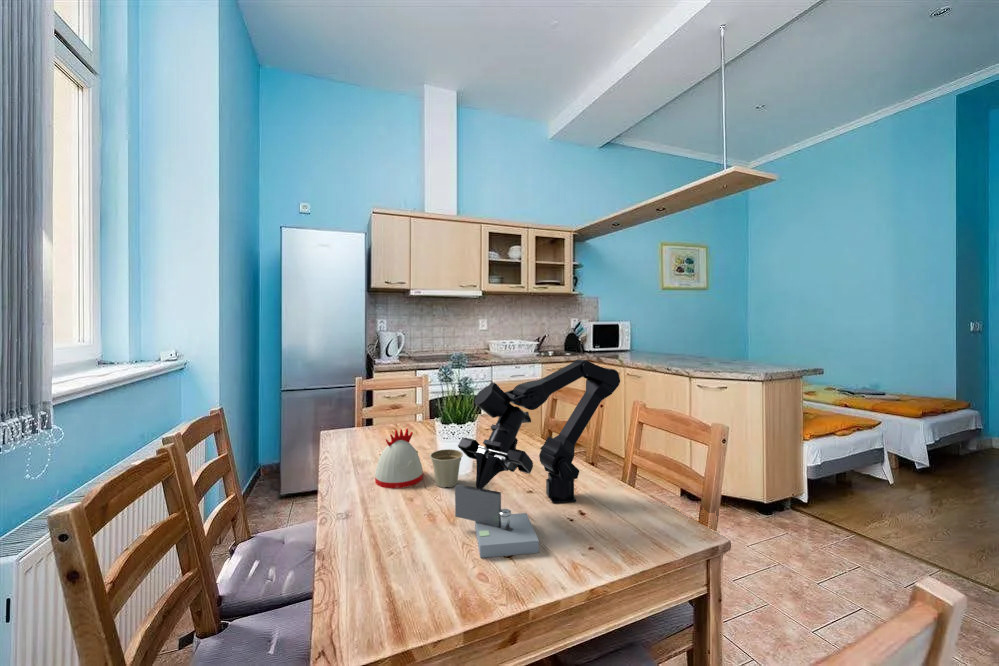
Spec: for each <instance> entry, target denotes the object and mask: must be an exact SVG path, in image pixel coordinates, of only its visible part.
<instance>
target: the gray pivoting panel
mask: <svg viewBox="0 0 999 666" xmlns="http://www.w3.org/2000/svg"><path fill="white" fill-rule="evenodd" d="M454 491H455V492H454V501H455V502H454V505H455V507H454V508H455V512H454V513H455V516H454V517H456V518H460V519H463V520H469V521H474V522H475V521H477V522H481V523H486V524H490V525H495V526H500V527H501V528H502V529H508V528H509V527H510V515H511V514H512V510H510V509H509V508H502V492H501V491H497V490H492V489H491V490H490V489H485V488H483V489H481V488H476V486H475V487H473V486H469V485H463V484H458V483H457V484H456V485H455V486H454Z"/></svg>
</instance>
